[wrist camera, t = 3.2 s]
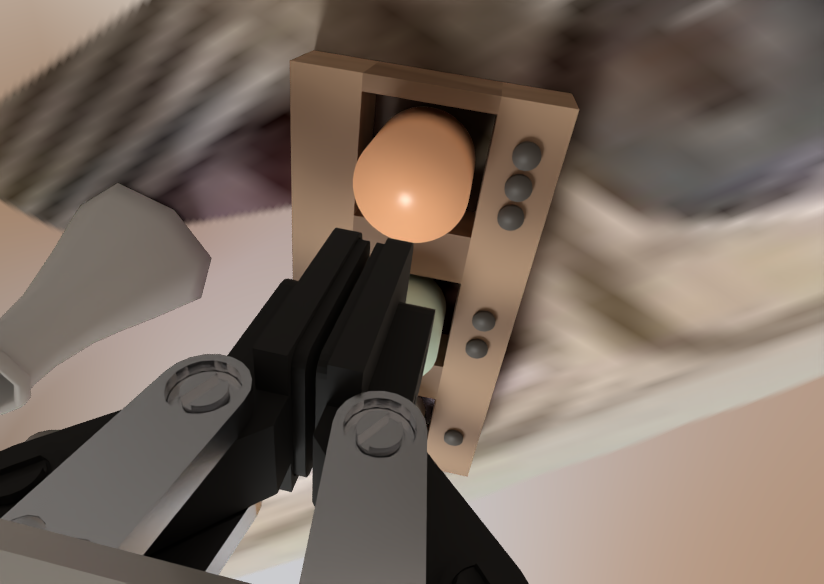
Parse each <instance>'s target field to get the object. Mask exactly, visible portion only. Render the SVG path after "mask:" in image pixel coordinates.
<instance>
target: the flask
mask: <svg viewBox="0 0 824 584" xmlns="http://www.w3.org/2000/svg"><path fill="white" fill-rule="evenodd" d="M210 262H211V257H210V255H209V254H208V253H207V251H206V250H205V249H204V248H203V246H202V245H201V244H200V242H199V241H198V240H197V239H196V237H195V236H194V235H193V234H192V232H191V231H190V230H189V228H188V227H187V226H186V225H185V223H184V222H183V221H182V219H181V218H180V217H179V216H178V214H177V213H176V212H175V210H173V209H171V208H169V207H167V206H165V205H163V204H160V203H158V202H156V201H154V200H152V199H150V198H148V197H146V196H144V195H142V194H140V193H138V192H136V191H133V190H131V189H129V188H127V187H125V186H123V185H121V184H119V183H117V184H115V185H114V186H112V187H110V188H109V189H107V190H105V191H104V192H102V193H100V194H99V195H97V196H95V197H94V198H92V199H91V200H89V201H87V202H86V203H84V204H82V205H81V206H80V207H79V209H78V210H77V212H76V213H75V215H74V216H73V218H72V220H71V221H70V223H69V225H68V226H67V228H66V230H65V231H64V233H63V235H62V236H61V238H60V240H59V241H58V243H57V245H56V247H55V248H54V250H53V251H52V253H51V254H50V256H49V257H48V259H47V260H46V262H45V263H44V265H43V266H42V268H41V269H40V271H39V272H38V274H37V275H36V277H35V278H34V280H33V281H32V283H31V284H30V286H29V287H28V289H27V290H26V292H25V293H24V295H23V296H22V297H21V298H20V299H19V300H18V301H17V302H16V303H15V304H14V305H13V306H12V307H11V308H10V309H9V310H8V311H7V312H6V313H5V314H4V315H3V316H2V317H1V318H0V414H1V415H3V414H6V413H8V412H11V411H13V410H16V409H18V408H21V407H22V406H23V405H25V404H26V403H27V401H28V400H29V399H30V395H31V388H32V387H33V386H34V385H35V384H36V383H37V382H38V381H39V380H40V379H42V378H43V377H44V376H45V375H46V374H48V373H49V372H50V371H51V370H52V369H53V368H55V367H56V366H57V365H59V364H60V363H62V362H64V361H65V360H67V359H68V358H70V357H72V356H73V355H75V354H77V353H78V352H80V351H82V350H83V349H85V348H86V347H88V346H90V345H91V344H93V343H95V342H97V341H99V340H102V339H104V338H106V337H109V336H111V335H113V334H115V333H118V332H120V331H122V330H125V329H127V328H130V327H133V326H135V325H138V324H140V323H143V322H145V321H148V320H150V319H153V318H155V317H158V316H160V315H162V314H165V313H167V312H169V311H172V310H174V309H176V308H178V307H181V306H183V305H186V304H188V303H190V302H193V301H195V300H197V299H199V298H201V296H202V292H203V289H204V285H205V281H206V277H207V273H208V269H209V266H210Z"/></svg>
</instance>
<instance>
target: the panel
mask: <svg viewBox="0 0 824 584" xmlns="http://www.w3.org/2000/svg"><path fill="white" fill-rule="evenodd" d="M376 94H381V95H387V96H392V97H398V98H404V99H410V100H416V101H421V102H427V103H433V104H439V105H445V106H450V107H456V108H462V109H468V110H474V111H480V112H485V113H491V114H496V117H495V121H494V126H493V131H492V135H491V140H490V145H489V149H488V154H487V159H486V163H485V168H484V173H483V177H482V182H481V187H480V191H479V196H478V201H477V205H476V210H475V212H472V211H465V213H464V215H463V217H462V218H461V220H460V221H459V223H458V224H457V225H456V226H455V227H454V228H453V229H452V230H451V231H450V232H448V233H447V234H445V235H444V236H442V237H440V238H438V239H435V240H432V241H428V242H422V243H414V247H413V256H412V263H411V270H410V274H414V275H419V276H424V277H429V278H435V279H440V280H445V281H450V282H455V283H460V285H459V289H458V294H457V299H456V303H455V308H454V313H453V317H452V322H451V327H450V331H449V335H446V334H441V338H440V344H439V349H438V354H437V358H436V361H435V363H434V365H433V367H432V368H431V369H430V370H429V371H428V372H427V373H426V374H425V375H423V376H422V380H421V385H420V389H419V393H418V396H423V397H427V398H432V399H435V402H434V406H433V411H432V416H431V420H430V425H426V426H427V453H428V454H429V455H430V456H431V458H432V459H433V460H434V462H435V463H436V464H437V465H438V467H439V468H440V469H441V470H442V471H445V472H449V473H454V474H458V475H462V476H468V473H469V470H470V466H471V463H472V460H473V456H474V453H475V450H476V447H477V443H478V440H479V437H480V434H481V430H482V427H483V424H484V420H485V417H486V414H487V411H488V407H489V404H490V401H491V397H492V394H493V391H494V388H495V384H496V381H497V378H498V374H499V371H500V368H501V365H502V361H503V358H504V355H505V352H506V348H507V345H508V342H509V338H510V335H511V332H512V329H513V325H514V322H515V319H516V315H517V312H518V309H519V306H520V302H521V299H522V296H523V292H524V289H525V286H526V283H527V279H528V276H529V273H530V270H531V266H532V263H533V260H534V256H535V253H536V250H537V247H538V243H539V240H540V237H541V233H542V230H543V227H544V224H545V220H546V217H547V214H548V210H549V207H550V204H551V201H552V197H553V194H554V191H555V188H556V184H557V181H558V178H559V174H560V171H561V168H562V165H563V161H564V158H565V155H566V151H567V148H568V145H569V142H570V138H571V135H572V132H573V128H574V125H575V122H576V119H577V115H578V112H579V108H578V106H577V104H576V101H575V99H574V97H573V95H572V94H571V93H565V92H559V91H553V90H547V89H541V88H535V87H529V86H523V85H517V84H511V83H506V82H500V81H494V80H488V79H482V78H476V77H470V76H464V75H458V74H452V73H446V72H440V71H434V70H428V69H422V68H416V67H410V66H404V65H398V64H392V63H386V62H380V61H374V60H368V59H362V58H356V57H350V56H344V55H338V54H332V53H326V52H320V51H314V50H313V51H311V52H309V53H306V54H304V55H302V56H299V57H297V58H295V59H292V60H290V112H291V183H292V252H293V253H292V254H293V280H297V281H299V279H300V278H301V276H302V275H303V273H304V272H305V270H306V269H307V268H308V266H309V265H310V263H311V262H312V260H313V259H314V257H315V256H316V254H317V253H318V252H319V250H320V249H321V247H322V246H323V244H324V243H325V241H326V240H327V238H328V237H329V236H330V234H331V233H332V231H333V230H334V229H335V228H341V229H347V230H352V231H357V232H361V233H362V237H363V240H367V241H370V255H371V253H372V251H373V249H374V247H375V245H376V243H382V244H385V242H386V240H387V239H388V238H390V237H388V236H386V235H384V234H382V233H381V232H379V231H378V230H376V229H375V228H374V227H373V226H372V225H371V224H370V223H369V222H368V221H367V220H366V219H365V217H364V216H363V214H362V213H361V211H360V209H359V207H358V205H357V203H356V200H355V196H354V191H353V175H354V170H355V166H356V164H357V161H358V159H359V157H360V156H361V154H362V152H363V151H364V150H365V149H366V147H367V146H368V145H369V144H370V142H371V141H372V140H373V130H374V117H375V105H376Z"/></svg>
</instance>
